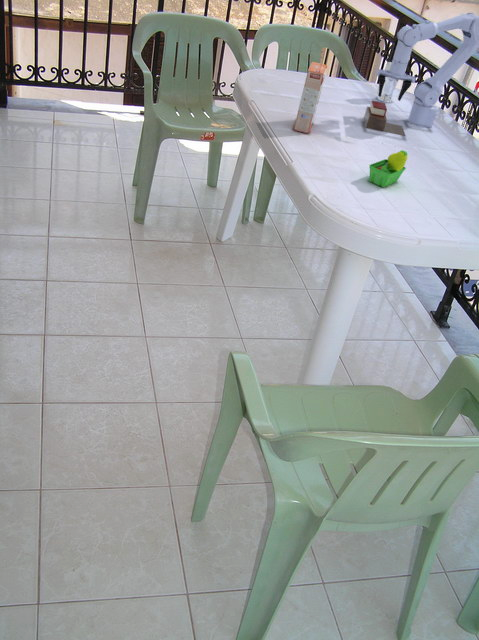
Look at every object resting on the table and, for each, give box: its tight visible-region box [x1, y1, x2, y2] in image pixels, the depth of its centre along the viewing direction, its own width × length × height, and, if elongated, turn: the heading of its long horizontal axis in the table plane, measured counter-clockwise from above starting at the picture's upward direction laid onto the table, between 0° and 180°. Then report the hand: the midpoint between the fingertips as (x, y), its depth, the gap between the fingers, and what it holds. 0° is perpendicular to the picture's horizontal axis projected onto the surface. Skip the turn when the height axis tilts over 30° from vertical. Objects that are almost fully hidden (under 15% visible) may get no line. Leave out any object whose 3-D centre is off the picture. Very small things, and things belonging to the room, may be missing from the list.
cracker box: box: [293, 61, 328, 135], centre depth 237 cm, size 14×6×21 cm, turn 168°
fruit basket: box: [369, 149, 408, 188], centre depth 208 cm, size 11×9×11 cm
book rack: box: [363, 106, 407, 137], centre depth 254 cm, size 15×12×6 cm
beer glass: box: [377, 61, 399, 103], centre depth 288 cm, size 7×7×15 cm
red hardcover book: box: [369, 100, 388, 117], centre depth 251 cm, size 5×8×3 cm, turn 175°
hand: (389, 97), depth 260 cm, fingers open, 7 cm apart
